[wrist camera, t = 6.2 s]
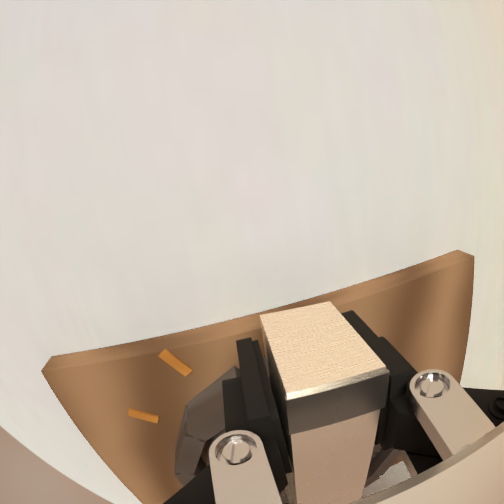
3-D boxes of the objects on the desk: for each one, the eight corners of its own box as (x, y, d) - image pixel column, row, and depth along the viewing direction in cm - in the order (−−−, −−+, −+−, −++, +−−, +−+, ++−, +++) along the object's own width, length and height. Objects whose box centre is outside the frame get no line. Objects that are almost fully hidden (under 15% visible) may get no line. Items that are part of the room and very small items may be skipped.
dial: (367, 462, 17) (404, 532, 11) (225, 495, 16) (234, 576, 10) (387, 260, 13) (494, 324, 7) (157, 301, 12) (118, 417, 6)
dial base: (457, 247, 16) (501, 265, 12) (436, 427, 20) (458, 454, 16) (50, 354, 14) (23, 393, 10) (159, 505, 18) (157, 539, 15)
